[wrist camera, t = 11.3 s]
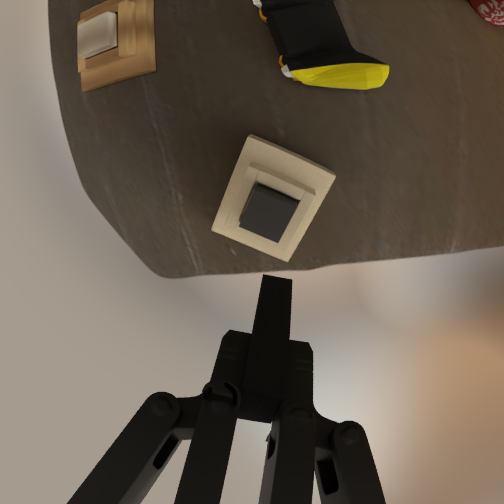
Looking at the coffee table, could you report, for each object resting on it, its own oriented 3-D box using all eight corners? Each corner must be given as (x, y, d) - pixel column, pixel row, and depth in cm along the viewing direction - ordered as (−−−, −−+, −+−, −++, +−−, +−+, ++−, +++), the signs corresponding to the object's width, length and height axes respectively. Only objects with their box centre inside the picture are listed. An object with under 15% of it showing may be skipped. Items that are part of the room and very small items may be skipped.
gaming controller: (334, -28, 16) (247, -10, 19) (342, -48, 12) (238, -29, 14) (381, 87, 23) (293, 104, 26) (399, 85, 18) (293, 105, 21)
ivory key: (88, 27, 19) (77, 25, 17) (117, 14, 18) (107, 11, 17) (88, 58, 21) (77, 57, 20) (118, 46, 21) (107, 44, 19)
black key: (257, 182, 27) (254, 189, 26) (297, 200, 28) (297, 207, 26) (241, 218, 30) (238, 226, 28) (279, 234, 30) (278, 243, 28)
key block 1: (89, 15, 20) (70, 11, 17) (153, -11, 19) (138, -20, 16) (91, 90, 27) (71, 93, 23) (156, 71, 25) (139, 69, 22)
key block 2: (250, 133, 28) (244, 138, 25) (333, 171, 29) (339, 181, 26) (215, 223, 35) (206, 238, 31) (288, 253, 35) (287, 272, 32)
